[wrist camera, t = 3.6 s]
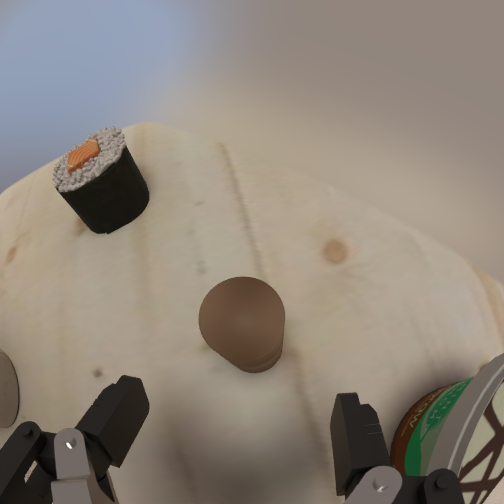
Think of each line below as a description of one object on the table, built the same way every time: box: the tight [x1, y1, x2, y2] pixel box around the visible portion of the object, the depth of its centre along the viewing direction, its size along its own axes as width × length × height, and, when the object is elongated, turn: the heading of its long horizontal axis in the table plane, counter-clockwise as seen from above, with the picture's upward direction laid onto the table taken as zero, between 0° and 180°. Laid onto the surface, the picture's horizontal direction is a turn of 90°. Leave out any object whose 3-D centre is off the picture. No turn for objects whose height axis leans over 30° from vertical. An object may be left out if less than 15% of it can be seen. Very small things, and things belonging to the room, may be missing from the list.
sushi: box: [53, 126, 149, 234], centre depth 25 cm, size 8×8×8 cm
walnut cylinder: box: [199, 277, 285, 373], centre depth 16 cm, size 4×4×8 cm
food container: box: [390, 353, 504, 504], centre depth 11 cm, size 12×6×10 cm, turn 135°
